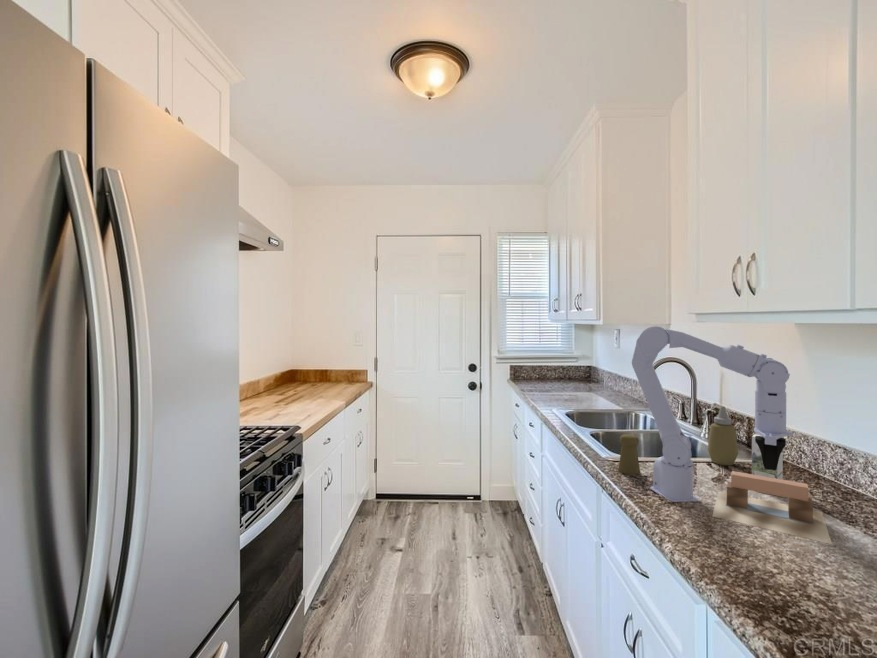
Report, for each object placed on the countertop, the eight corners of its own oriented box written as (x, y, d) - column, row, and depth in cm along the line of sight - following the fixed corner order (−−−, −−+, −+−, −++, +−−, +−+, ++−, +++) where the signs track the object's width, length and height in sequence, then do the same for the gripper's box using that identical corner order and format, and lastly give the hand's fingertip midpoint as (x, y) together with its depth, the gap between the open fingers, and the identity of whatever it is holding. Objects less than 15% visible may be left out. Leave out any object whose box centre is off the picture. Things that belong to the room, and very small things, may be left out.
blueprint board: (712, 518, 96) (712, 496, 96) (718, 493, 110) (719, 474, 110) (831, 546, 84) (832, 521, 84) (821, 514, 98) (822, 492, 98)
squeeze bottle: (701, 459, 138) (701, 404, 137) (722, 458, 139) (723, 403, 139) (722, 468, 130) (722, 409, 130) (744, 466, 131) (745, 408, 131)
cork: (615, 467, 130) (615, 432, 130) (635, 468, 130) (635, 432, 130) (622, 474, 124) (622, 437, 124) (643, 475, 124) (643, 437, 124)
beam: (731, 486, 102) (731, 474, 102) (731, 482, 104) (732, 470, 104) (808, 501, 93) (808, 488, 93) (807, 497, 96) (807, 483, 96)
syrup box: (783, 490, 112) (783, 435, 112) (777, 496, 109) (778, 439, 109) (757, 484, 117) (757, 431, 117) (750, 489, 113) (751, 435, 113)
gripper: (794, 418, 90) (794, 482, 90) (791, 408, 102) (790, 464, 102) (753, 414, 95) (753, 475, 95) (754, 404, 106) (754, 458, 106)
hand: (770, 469), depth 99 cm, fingers closed
